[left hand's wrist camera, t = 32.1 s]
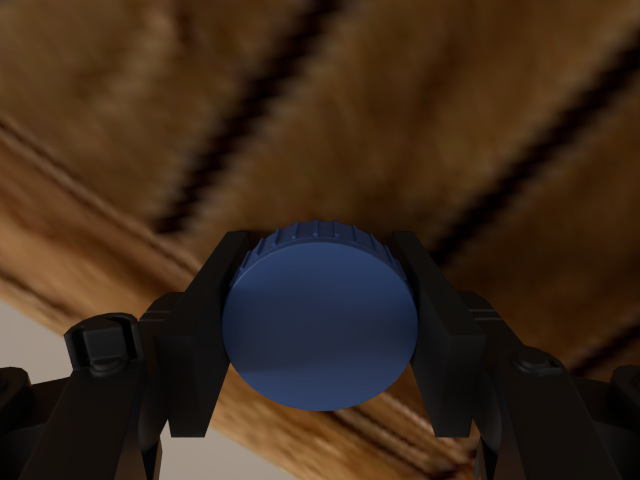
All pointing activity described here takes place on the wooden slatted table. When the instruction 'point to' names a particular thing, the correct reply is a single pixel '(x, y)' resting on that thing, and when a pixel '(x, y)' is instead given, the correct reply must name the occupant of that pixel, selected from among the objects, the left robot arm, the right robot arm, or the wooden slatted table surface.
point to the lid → (319, 317)
